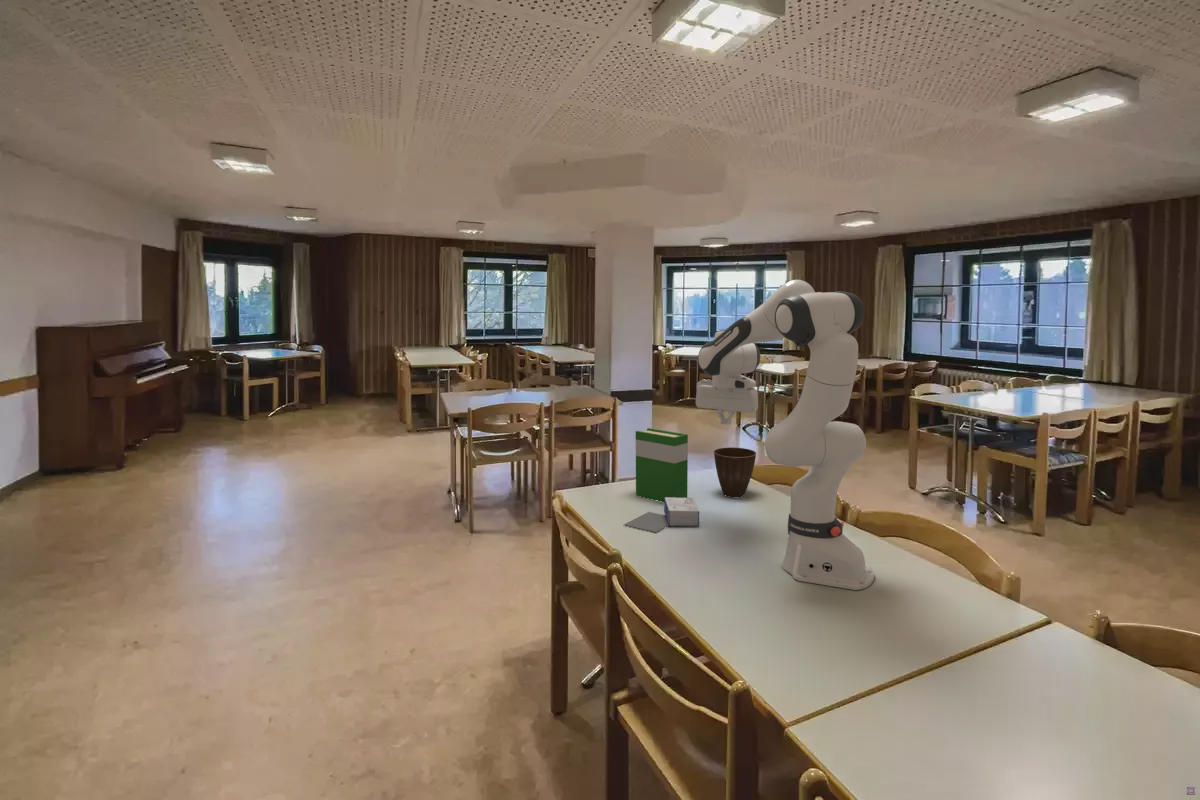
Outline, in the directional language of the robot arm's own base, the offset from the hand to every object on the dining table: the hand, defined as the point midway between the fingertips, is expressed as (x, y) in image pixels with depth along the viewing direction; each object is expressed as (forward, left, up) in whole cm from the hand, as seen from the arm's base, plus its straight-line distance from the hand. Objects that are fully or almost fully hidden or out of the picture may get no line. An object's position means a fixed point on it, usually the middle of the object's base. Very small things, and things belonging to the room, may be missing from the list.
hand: (725, 423), depth 204 cm
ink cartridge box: (+6, +15, -29) cm, 33 cm away
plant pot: (+8, -25, -31) cm, 41 cm away
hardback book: (+28, -7, -31) cm, 43 cm away
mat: (+17, +17, -31) cm, 39 cm away
